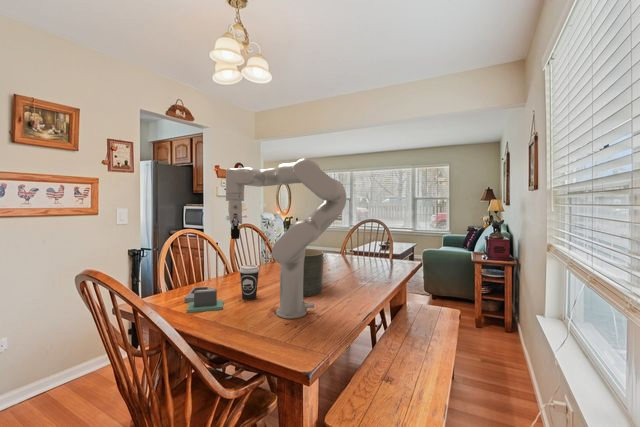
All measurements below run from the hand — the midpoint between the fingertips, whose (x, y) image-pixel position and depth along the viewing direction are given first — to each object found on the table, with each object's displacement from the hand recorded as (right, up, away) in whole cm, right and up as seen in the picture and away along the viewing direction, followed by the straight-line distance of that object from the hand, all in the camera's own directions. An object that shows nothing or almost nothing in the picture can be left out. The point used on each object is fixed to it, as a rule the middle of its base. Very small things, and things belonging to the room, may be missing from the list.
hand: (234, 237), depth 130 cm
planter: (+27, -30, +27) cm, 48 cm away
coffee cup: (+3, -30, +14) cm, 33 cm away
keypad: (-21, -30, +14) cm, 39 cm away
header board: (-13, -30, 0) cm, 33 cm away
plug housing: (-13, -29, 0) cm, 32 cm away
